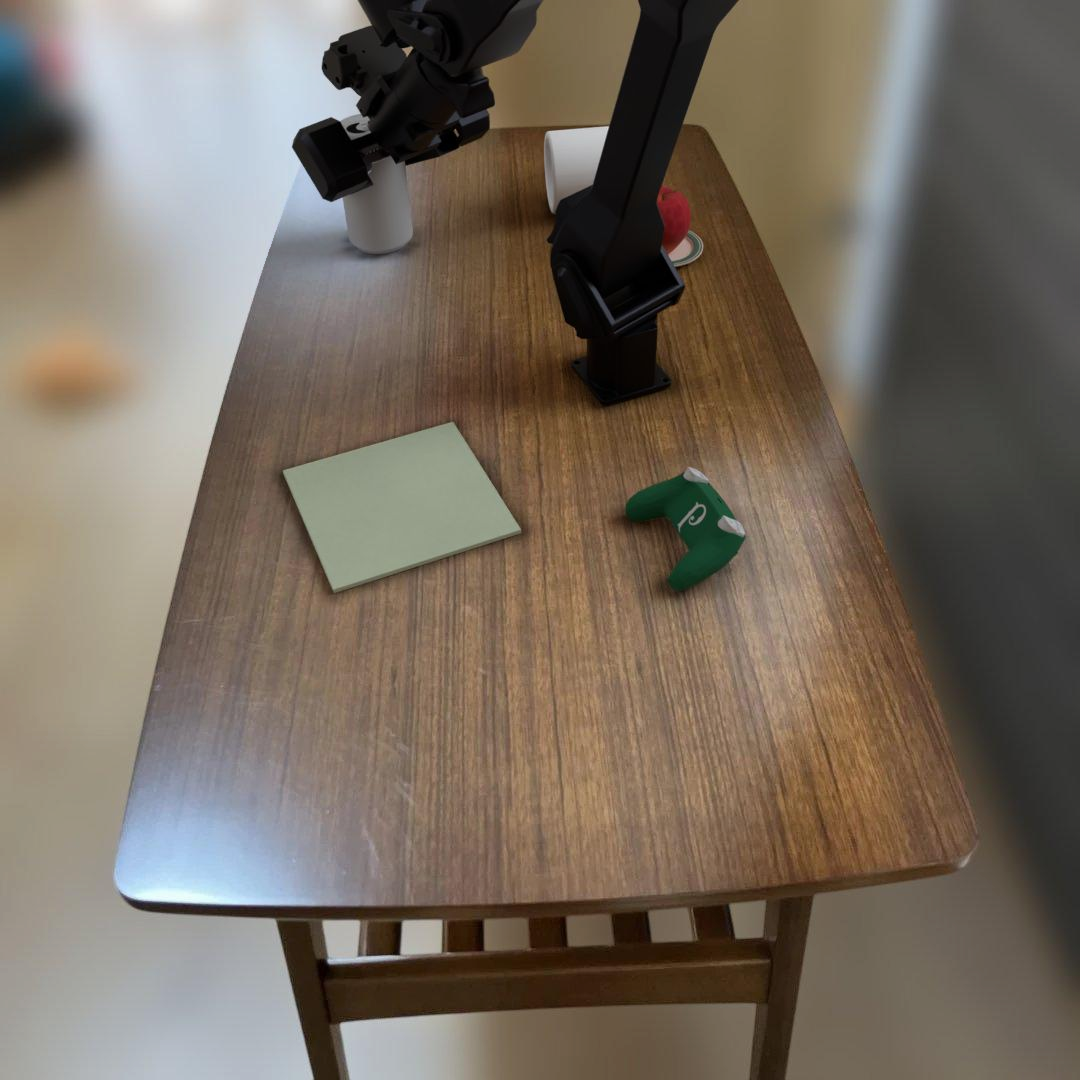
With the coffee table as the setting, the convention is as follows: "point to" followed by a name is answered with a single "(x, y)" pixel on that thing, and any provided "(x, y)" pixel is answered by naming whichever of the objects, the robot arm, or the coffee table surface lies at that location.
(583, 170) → the mug
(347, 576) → the felt mat
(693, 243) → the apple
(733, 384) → the coffee table surface
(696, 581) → the gaming controller
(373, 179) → the beverage can
